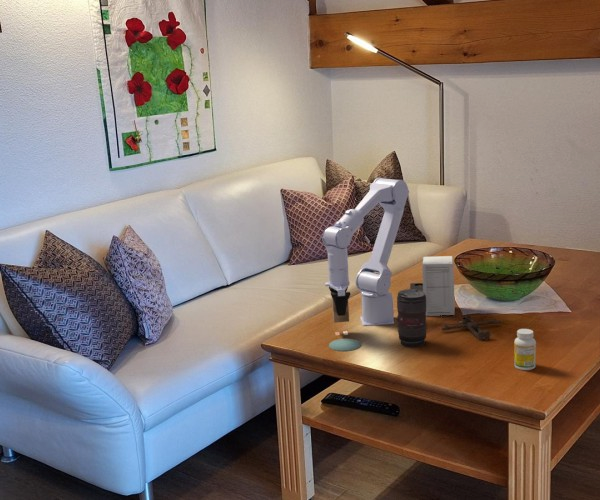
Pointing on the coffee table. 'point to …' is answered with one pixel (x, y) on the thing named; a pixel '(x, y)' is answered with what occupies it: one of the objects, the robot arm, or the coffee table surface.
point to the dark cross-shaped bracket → (473, 327)
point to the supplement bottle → (525, 350)
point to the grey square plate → (343, 332)
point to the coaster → (344, 345)
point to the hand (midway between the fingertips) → (340, 312)
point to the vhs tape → (416, 286)
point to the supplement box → (438, 285)
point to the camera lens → (411, 317)
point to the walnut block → (340, 318)
